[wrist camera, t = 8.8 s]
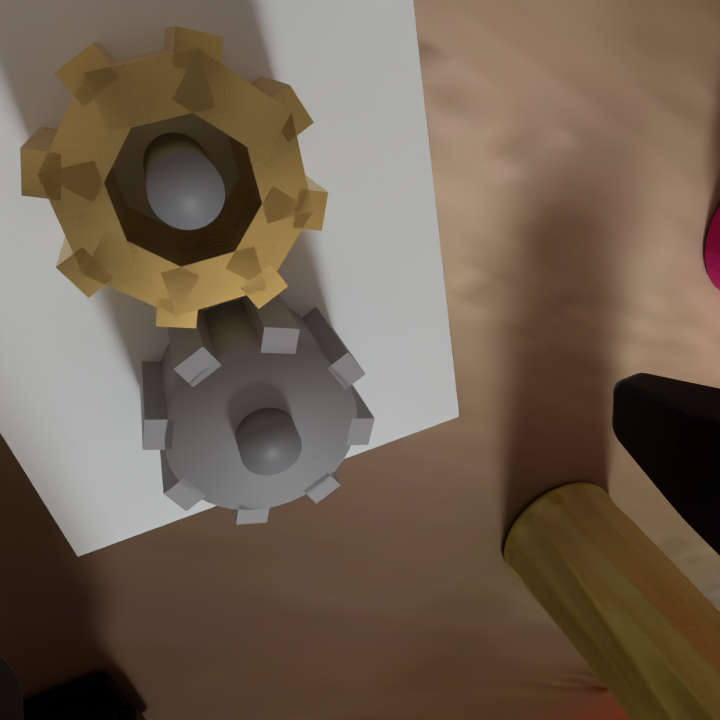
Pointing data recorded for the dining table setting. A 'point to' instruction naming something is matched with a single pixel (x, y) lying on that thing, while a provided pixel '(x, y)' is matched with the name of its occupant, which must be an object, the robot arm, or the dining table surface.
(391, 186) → the gear board
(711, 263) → the pepper mill
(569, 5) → the dining table surface
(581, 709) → the dining table surface
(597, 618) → the vase
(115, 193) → the gear
